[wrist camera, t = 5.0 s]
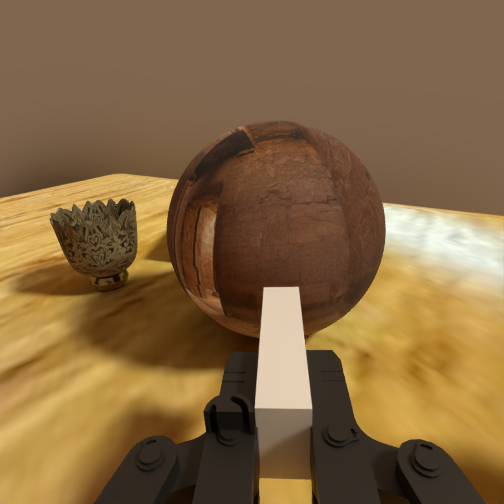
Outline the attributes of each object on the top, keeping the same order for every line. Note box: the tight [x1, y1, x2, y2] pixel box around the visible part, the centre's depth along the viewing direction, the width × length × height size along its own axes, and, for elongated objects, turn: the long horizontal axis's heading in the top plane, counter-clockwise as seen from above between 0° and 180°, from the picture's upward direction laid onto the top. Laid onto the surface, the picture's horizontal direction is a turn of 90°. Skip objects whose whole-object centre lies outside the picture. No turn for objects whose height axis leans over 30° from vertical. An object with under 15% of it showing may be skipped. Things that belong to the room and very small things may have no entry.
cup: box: [50, 198, 137, 290], centre depth 34 cm, size 8×7×8 cm
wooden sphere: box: [167, 121, 386, 338], centre depth 25 cm, size 15×15×15 cm
